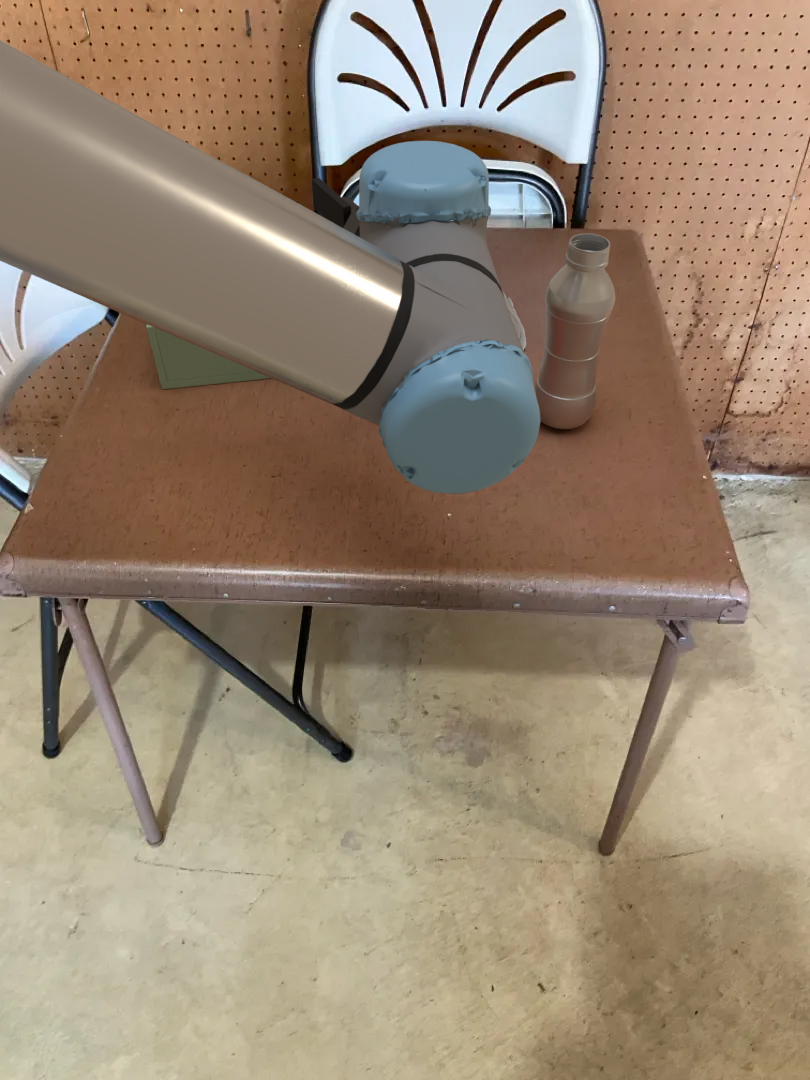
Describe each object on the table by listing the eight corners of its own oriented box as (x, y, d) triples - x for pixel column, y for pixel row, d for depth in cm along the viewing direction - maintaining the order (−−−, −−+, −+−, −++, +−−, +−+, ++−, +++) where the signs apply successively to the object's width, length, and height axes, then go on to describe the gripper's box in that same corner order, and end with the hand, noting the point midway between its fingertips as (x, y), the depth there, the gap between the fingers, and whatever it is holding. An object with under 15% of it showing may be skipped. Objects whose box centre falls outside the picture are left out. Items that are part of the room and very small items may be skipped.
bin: (161, 389, 94) (146, 327, 88) (164, 310, 105) (150, 250, 99) (310, 374, 96) (304, 312, 90) (297, 298, 107) (291, 239, 101)
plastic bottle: (591, 440, 88) (628, 263, 73) (526, 433, 89) (550, 256, 74) (592, 403, 92) (628, 229, 78) (531, 396, 93) (554, 223, 79)
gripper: (207, 409, 62) (123, 280, 75) (488, 320, 71) (370, 218, 84) (189, 320, 57) (102, 198, 70) (496, 235, 66) (368, 140, 78)
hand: (248, 208), depth 77 cm, fingers open, 13 cm apart
